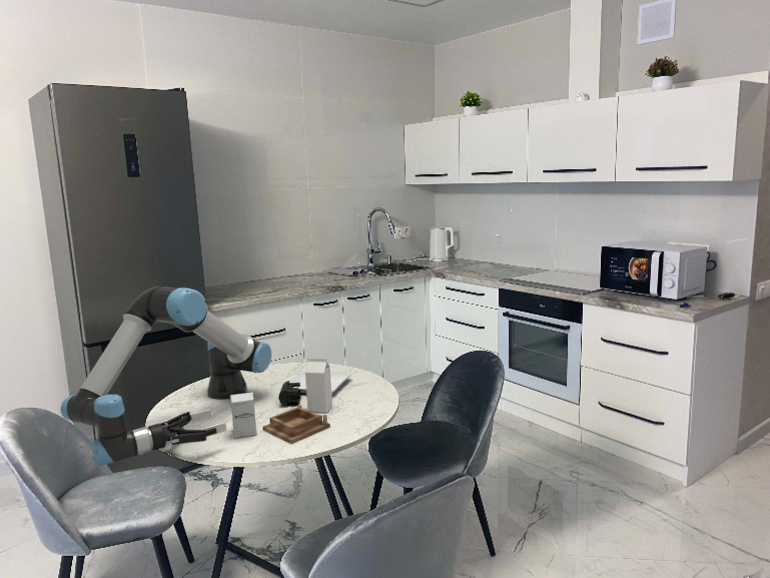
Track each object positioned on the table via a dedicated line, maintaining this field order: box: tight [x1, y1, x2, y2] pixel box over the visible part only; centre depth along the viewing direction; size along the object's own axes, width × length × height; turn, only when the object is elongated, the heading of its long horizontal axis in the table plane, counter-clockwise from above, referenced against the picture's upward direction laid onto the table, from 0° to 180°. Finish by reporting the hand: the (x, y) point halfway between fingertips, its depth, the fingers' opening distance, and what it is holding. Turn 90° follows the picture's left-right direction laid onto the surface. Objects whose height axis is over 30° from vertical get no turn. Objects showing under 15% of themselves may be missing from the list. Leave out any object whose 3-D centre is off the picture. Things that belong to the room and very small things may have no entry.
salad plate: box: [290, 369, 352, 395], centre depth 233 cm, size 21×21×3 cm
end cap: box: [278, 380, 302, 408], centre depth 218 cm, size 10×7×7 cm
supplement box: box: [229, 392, 258, 439], centre depth 193 cm, size 7×7×13 cm
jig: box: [262, 404, 331, 445], centre depth 195 cm, size 16×16×4 cm
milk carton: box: [304, 357, 333, 413], centre depth 210 cm, size 7×7×19 cm
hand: (218, 419), depth 188 cm, fingers open, 13 cm apart
